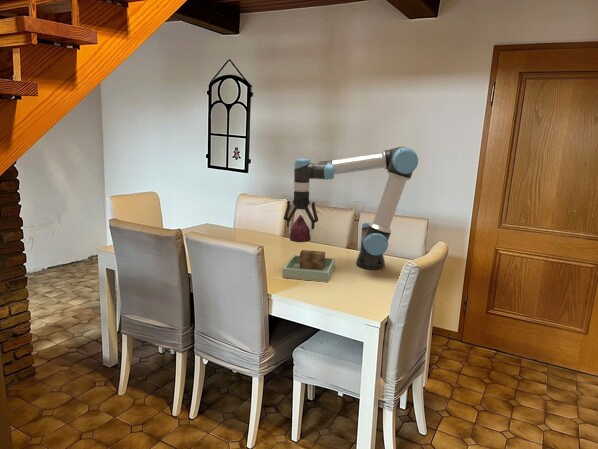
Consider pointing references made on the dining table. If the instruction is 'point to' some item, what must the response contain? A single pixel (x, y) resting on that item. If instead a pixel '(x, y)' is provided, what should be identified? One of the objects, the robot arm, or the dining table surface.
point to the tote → (308, 270)
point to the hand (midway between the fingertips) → (300, 234)
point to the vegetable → (300, 231)
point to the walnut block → (312, 259)
